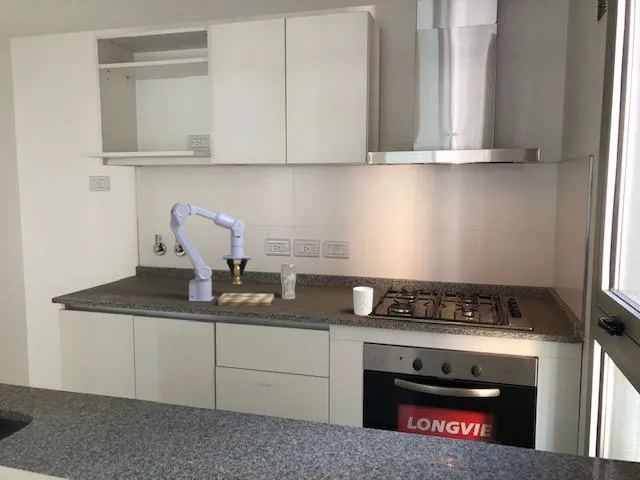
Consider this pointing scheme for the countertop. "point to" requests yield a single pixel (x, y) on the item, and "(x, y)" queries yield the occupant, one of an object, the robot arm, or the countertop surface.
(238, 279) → the brass peg
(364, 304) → the white cup
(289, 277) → the beer glass
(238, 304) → the checkered wooden board
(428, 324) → the countertop surface
